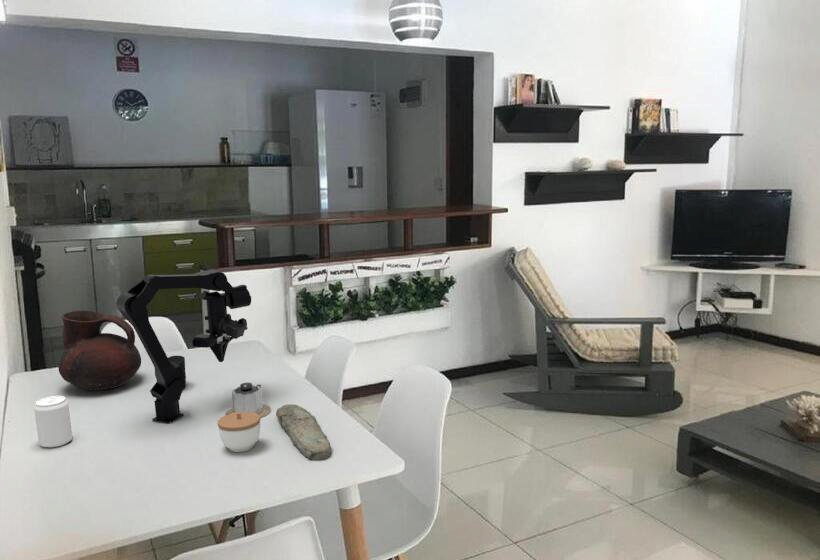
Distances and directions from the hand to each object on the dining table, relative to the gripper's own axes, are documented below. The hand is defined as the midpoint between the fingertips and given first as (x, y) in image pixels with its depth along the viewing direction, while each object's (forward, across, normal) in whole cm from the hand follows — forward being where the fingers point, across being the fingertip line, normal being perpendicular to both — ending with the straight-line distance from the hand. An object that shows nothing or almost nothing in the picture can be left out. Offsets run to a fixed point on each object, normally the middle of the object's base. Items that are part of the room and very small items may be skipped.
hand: (221, 361), depth 208 cm
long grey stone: (+14, -14, -36) cm, 41 cm away
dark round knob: (+10, -5, -12) cm, 16 cm away
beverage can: (+13, -39, +26) cm, 49 cm away
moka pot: (+13, -5, -12) cm, 18 cm away
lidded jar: (+13, -26, -24) cm, 38 cm away
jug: (+13, +1, +49) cm, 51 cm away
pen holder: (+13, +5, +24) cm, 28 cm away
